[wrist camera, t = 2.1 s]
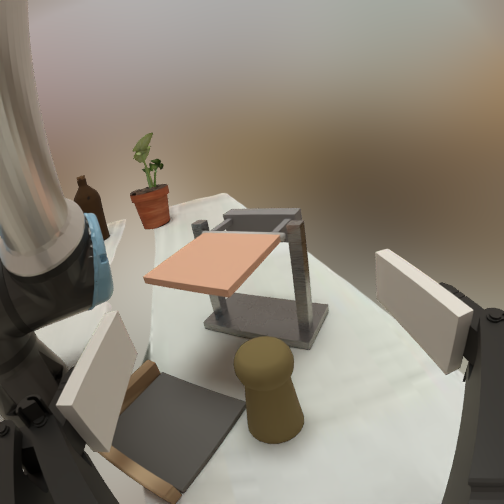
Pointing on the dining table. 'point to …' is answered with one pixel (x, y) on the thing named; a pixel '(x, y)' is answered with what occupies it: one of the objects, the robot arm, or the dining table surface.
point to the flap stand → (272, 302)
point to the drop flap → (225, 252)
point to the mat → (175, 428)
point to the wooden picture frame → (125, 464)
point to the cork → (269, 389)
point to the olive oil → (91, 204)
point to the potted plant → (150, 190)
